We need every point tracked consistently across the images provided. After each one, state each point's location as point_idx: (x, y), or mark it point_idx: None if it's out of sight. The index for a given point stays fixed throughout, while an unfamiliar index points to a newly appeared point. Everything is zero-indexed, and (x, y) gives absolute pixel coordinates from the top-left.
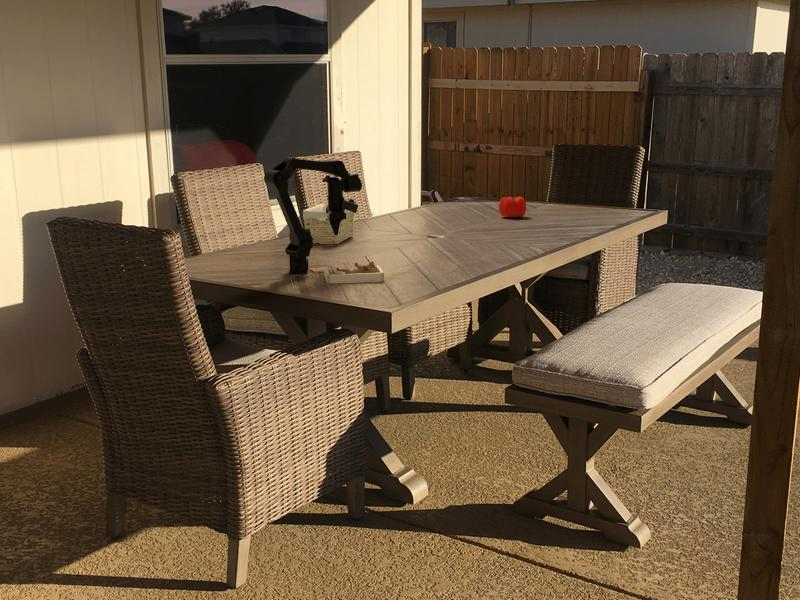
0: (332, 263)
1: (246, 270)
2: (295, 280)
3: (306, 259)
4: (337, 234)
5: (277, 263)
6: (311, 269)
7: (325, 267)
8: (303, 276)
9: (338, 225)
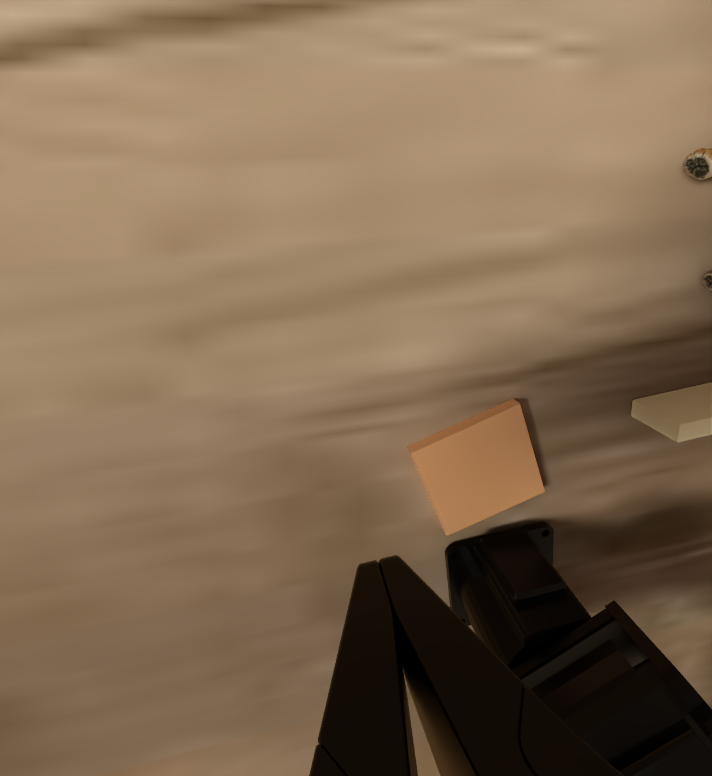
0: (194, 425)
1: (422, 769)
2: (705, 536)
3: (570, 593)
4: (404, 564)
5: (232, 719)
6: (487, 517)
7: (684, 432)
8: (620, 521)
9: (572, 750)
